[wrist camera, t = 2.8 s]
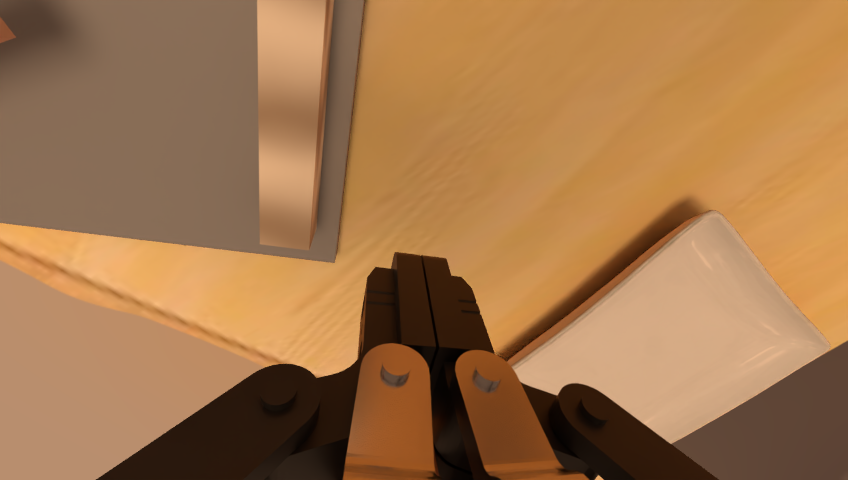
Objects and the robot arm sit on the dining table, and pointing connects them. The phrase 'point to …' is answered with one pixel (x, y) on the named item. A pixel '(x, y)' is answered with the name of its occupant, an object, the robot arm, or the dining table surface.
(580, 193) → the dining table surface
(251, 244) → the board
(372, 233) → the dining table surface
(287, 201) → the arm link
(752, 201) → the dining table surface
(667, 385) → the square plate
